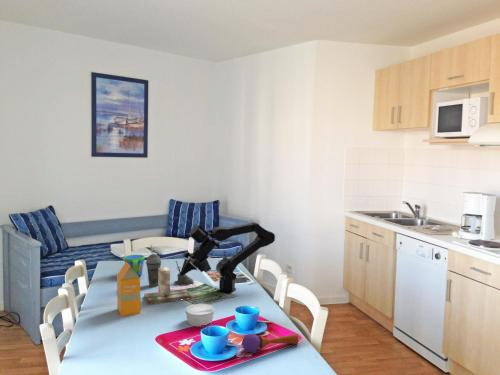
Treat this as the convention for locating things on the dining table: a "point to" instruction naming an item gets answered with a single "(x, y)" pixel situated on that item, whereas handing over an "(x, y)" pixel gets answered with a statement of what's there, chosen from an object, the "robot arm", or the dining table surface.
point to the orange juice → (128, 291)
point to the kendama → (265, 341)
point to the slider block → (164, 281)
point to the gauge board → (174, 296)
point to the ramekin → (199, 314)
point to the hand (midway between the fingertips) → (180, 275)
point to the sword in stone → (183, 279)
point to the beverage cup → (153, 269)
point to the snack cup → (135, 263)
